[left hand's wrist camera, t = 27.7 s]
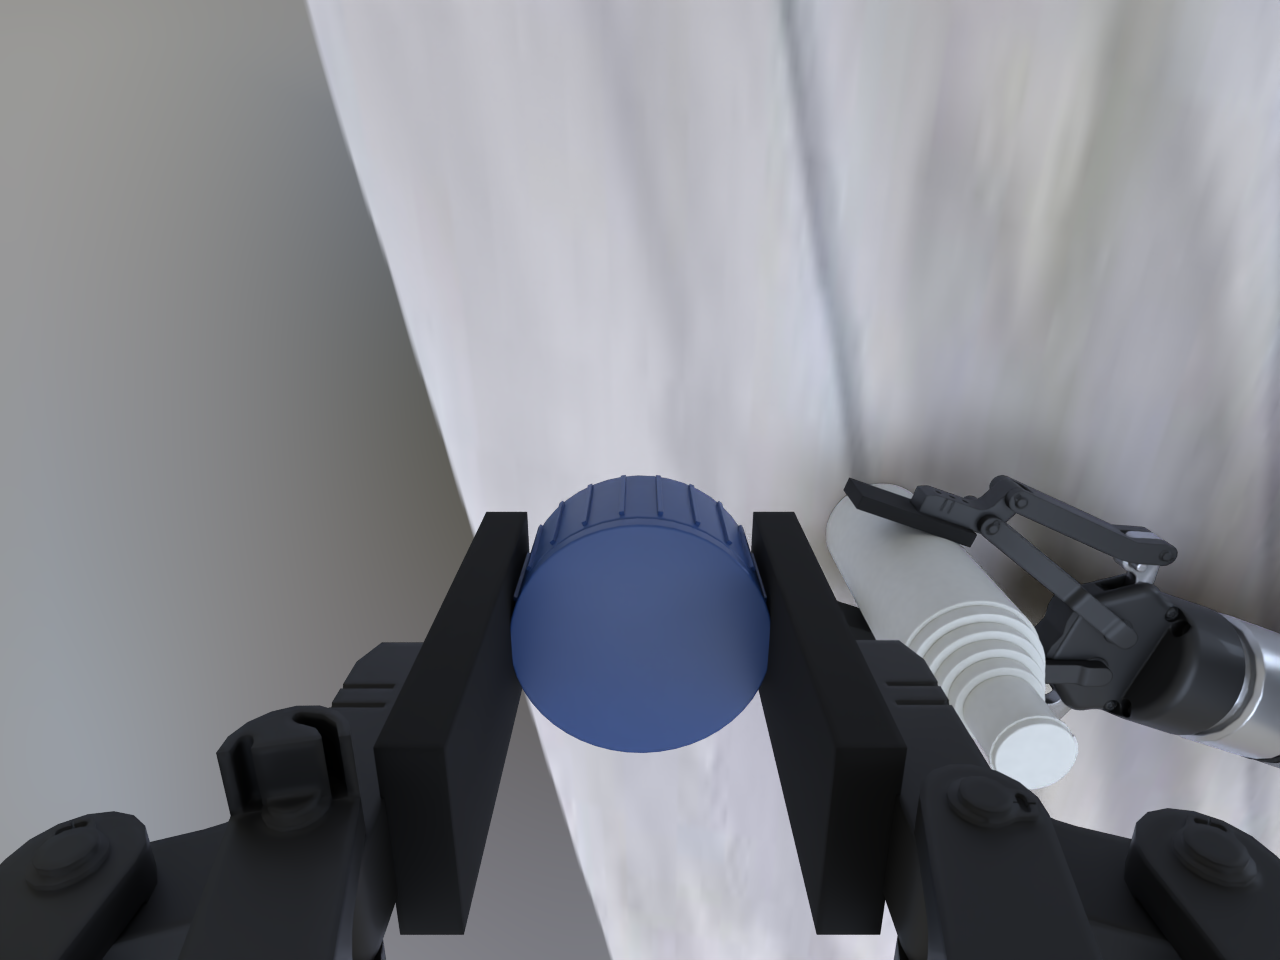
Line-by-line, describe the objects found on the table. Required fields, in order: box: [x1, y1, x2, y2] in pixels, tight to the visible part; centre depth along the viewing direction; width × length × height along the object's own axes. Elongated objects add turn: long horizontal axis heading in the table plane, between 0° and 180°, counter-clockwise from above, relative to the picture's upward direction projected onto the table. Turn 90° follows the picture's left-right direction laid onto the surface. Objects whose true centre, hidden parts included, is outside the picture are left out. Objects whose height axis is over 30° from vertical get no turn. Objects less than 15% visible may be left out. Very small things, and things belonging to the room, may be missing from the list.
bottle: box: [826, 483, 1078, 789], centre depth 39 cm, size 6×6×21 cm
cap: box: [510, 475, 770, 753], centre depth 14 cm, size 4×4×2 cm
